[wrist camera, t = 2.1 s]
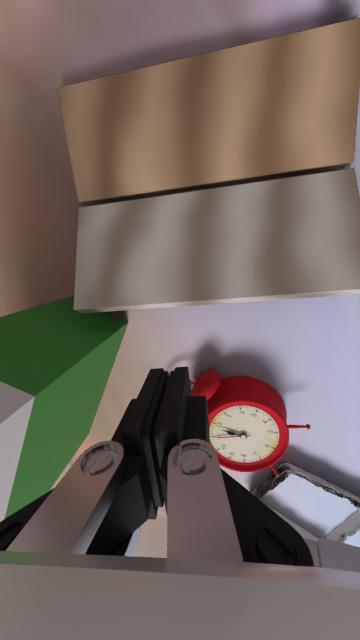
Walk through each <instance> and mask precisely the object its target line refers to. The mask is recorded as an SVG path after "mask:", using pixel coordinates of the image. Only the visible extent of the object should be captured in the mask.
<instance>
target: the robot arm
mask: <svg viewBox="0 0 360 640" xmlns="http://www.w3.org/2000/svg"><path fill="white" fill-rule="evenodd" d="M164 502H165V507H166V513H167V558H152V557H133V554H134V551H135V549H136V546H137V543H138V540H139V536H140V532H141V531H140V526H141V525H142V524H143V523H144V522H146V521H147V519H156V516H157V510H158V507H163V505H164ZM0 640H360V548H359V547H356V546H352V545H348V544H345V543H341V542H337V541H334V540H330V539H326V538H322V537H319V536H317V541H314V540H310V539H307V538H303V537H302V536H301V535H300V534H299V533H298V532H297V531H296V530H295V529H294V528H293V527H292V526H291V525H290V524H289V523H288V522H286V521H285V520H284V519H283V518H281V517H280V516H279V515H278V514H276V513H275V512H274V511H273V510H272V509H270V508H269V507H268V506H267V505H265V504H264V503H263V502H262V501H260V500H259V499H258V498H257V497H256V496H254V495H253V494H252V493H251V492H249V491H248V490H247V489H246V488H244V487H243V486H242V485H241V484H239V483H238V482H237V481H236V480H235V479H233V478H232V477H231V476H230V475H228V474H227V473H226V472H225V471H223V470H222V469H221V468H220V465H219V461H218V456H217V453H216V451H215V449H214V448H213V446H212V445H211V444H210V432H209V416H208V406H207V397H206V395H205V396H192V395H191V387H190V378H189V370H188V367H176V368H175V371H171V372H170V376H169V373H168V371H164V369H163V368H160V369H151V370H150V372H149V374H148V376H147V378H146V380H145V382H144V384H143V387H142V389H141V391H140V393H139V395H138V397H137V399H132V400H131V401H130V403H129V405H128V407H127V409H126V411H125V413H124V415H123V417H122V419H121V421H120V423H119V425H118V427H117V429H116V431H115V433H114V435H113V437H112V439H111V441H103V442H99V443H97V444H95V445H93V446H91V447H89V448H88V449H87V450H85V451H84V452H83V453H82V454H81V455H80V456H79V458H78V459H77V460H76V461H75V463H74V464H73V465H72V467H71V468H70V469H69V471H68V472H67V473H66V474H65V476H64V477H63V478H62V479H61V481H60V482H59V483H58V484H57V486H56V487H55V488H53V489H52V490H50V491H49V492H47V493H45V494H44V495H42V496H41V497H39V498H37V499H36V500H34V501H33V502H31V503H29V504H28V505H26V506H25V507H23V508H21V509H20V510H18V511H16V512H15V513H13V514H12V515H10V516H8V517H7V518H5V519H4V520H2V521H1V522H0Z"/></svg>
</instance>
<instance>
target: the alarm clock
mask: <svg viewBox="0 0 360 640" xmlns="http://www.w3.org/2000/svg"><path fill="white" fill-rule="evenodd" d="M221 379H222V377H221V374H220V373H219V372H217V371H216V370H208V371H207V372H205V373H203V374H202V375H201V376H200V377H199V378H197V377H195V380H196V382H192V381H190V383H191V384H194V386H193V388H192V392H191V395H192V396H205V395H206V397H207V406H208V416H209V432H210V444H211V445H212V446H213V448H214V449H215V451H216V453H217V456H218V461H219V464H220V465H222V466H224V467H226V468H228V469H231V470H234V471H239V472H256V471H260V470H264V469H266V468H269V467H270V468H271V469H272V470H273V471H274V474H275V475H276V476H278V475H279V473H278V471H275V469H274V468H273V467H272V465H274V464H275V463H277V462H278V461H279V460H280V459H281V458H282V457H283V455H284V454H285V452H286V450H287V447H288V443H289V430H288V428H307V429H310V425H309V424H307V425H306V426H301V425H287V423H286V418H287V416H286V409H285V406H284V403H283V401H282V399H281V398H280V396H279V395H278V393H277V392H276V391H275V390H274V389H273V388H272V387H270V386H269V385H267V384H266V383H264V382H262V381H260V380H257V379H254V378H250V377H241V376H240V377H229V378H225V379H222V380H221Z"/></svg>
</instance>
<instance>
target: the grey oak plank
mask: <svg viewBox="0 0 360 640" xmlns="http://www.w3.org/2000/svg"><path fill="white" fill-rule="evenodd" d="M351 294H360V197H359V191H358V186H357V181H356V176H355V170H354V168H353V169H346V170H339V171H332V172H325V173H318V174H311V175H304V176H297V177H290V178H283V179H276V180H269V181H262V182H255V183H248V184H241V185H234V186H227V187H220V188H213V189H206V190H199V191H193V192H186V193H179V194H172V195H165V196H158V197H151V198H144V199H137V200H130V201H123V202H116V203H109V204H102V205H95V206H88V207H81V208H78V229H77V249H76V270H75V291H74V310H75V311H78V312H81V313H94V312H108V311H122V310H137V309H151V308H165V307H180V306H194V305H208V304H222V303H237V302H251V301H265V300H280V299H294V298H308V297H323V296H337V295H351Z"/></svg>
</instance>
